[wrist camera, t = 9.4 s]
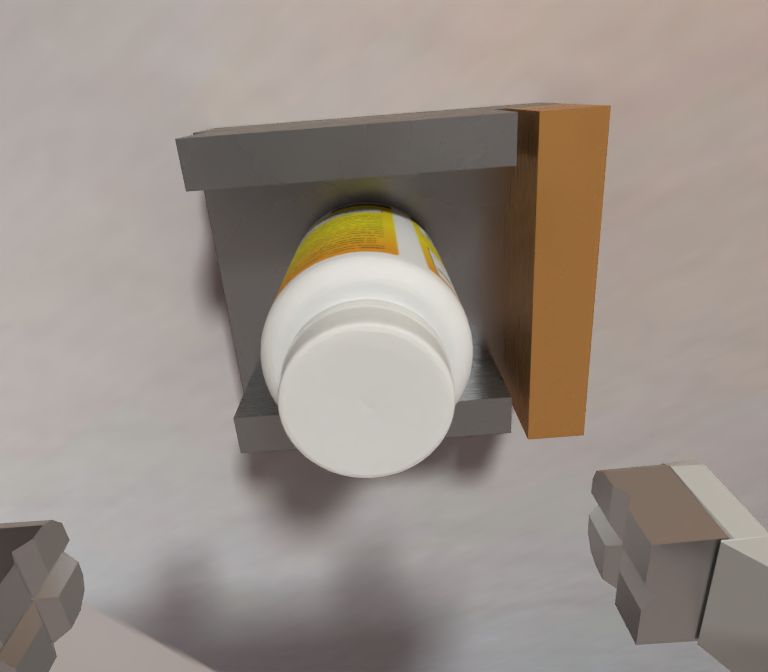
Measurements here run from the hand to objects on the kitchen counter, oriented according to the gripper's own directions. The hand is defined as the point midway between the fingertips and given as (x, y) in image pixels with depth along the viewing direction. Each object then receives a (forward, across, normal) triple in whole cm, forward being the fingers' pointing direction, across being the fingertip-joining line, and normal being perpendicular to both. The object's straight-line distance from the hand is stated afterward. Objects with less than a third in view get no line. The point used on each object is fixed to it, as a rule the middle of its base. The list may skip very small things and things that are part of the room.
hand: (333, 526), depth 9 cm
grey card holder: (+17, -2, 0) cm, 17 cm away
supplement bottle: (+14, -1, 0) cm, 14 cm away
